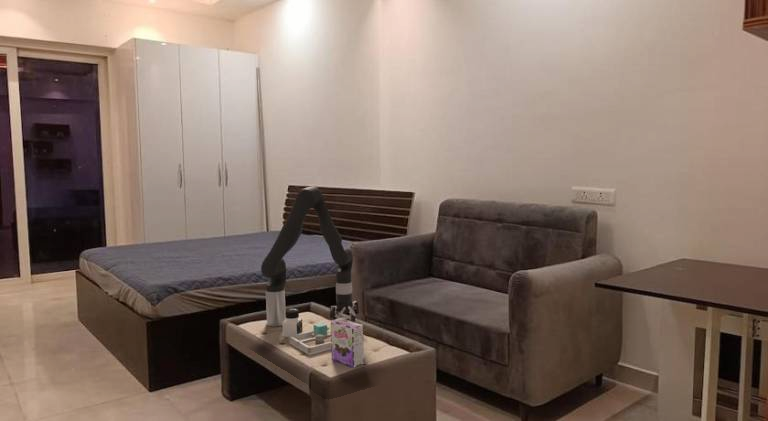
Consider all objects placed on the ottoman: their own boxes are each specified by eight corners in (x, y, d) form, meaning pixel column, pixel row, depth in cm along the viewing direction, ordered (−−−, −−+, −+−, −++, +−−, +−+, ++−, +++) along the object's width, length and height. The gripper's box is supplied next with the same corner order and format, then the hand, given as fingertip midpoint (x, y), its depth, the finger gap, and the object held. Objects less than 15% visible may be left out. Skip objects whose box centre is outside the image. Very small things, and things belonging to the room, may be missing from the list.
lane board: (288, 342, 246) (288, 336, 246) (327, 333, 258) (327, 327, 257) (308, 355, 231) (308, 348, 231) (349, 344, 242) (349, 337, 242)
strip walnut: (302, 346, 238) (302, 332, 238) (338, 337, 249) (338, 324, 248) (309, 350, 233) (309, 336, 232) (346, 341, 244) (345, 327, 243)
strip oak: (311, 336, 251) (311, 323, 250) (345, 328, 261) (344, 315, 260) (318, 340, 246) (317, 326, 245) (352, 331, 256) (352, 318, 255)
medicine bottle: (297, 338, 252) (296, 312, 251) (282, 337, 253) (281, 311, 252) (302, 332, 259) (301, 308, 258) (288, 332, 260) (287, 307, 259)
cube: (313, 334, 250) (313, 324, 250) (322, 332, 253) (322, 322, 252) (318, 336, 247) (318, 327, 246) (327, 334, 249) (327, 325, 249)
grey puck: (314, 342, 240) (313, 335, 239) (321, 340, 242) (321, 333, 241) (318, 344, 237) (317, 337, 236) (325, 342, 239) (325, 336, 239)
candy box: (330, 359, 226) (329, 320, 224) (341, 355, 230) (340, 317, 228) (353, 368, 216) (352, 327, 214) (364, 364, 220) (363, 324, 218)
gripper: (352, 287, 262) (353, 320, 264) (326, 292, 254) (327, 326, 256) (361, 290, 256) (362, 324, 258) (335, 295, 248) (335, 330, 250)
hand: (344, 325), depth 257 cm, fingers open, 8 cm apart
